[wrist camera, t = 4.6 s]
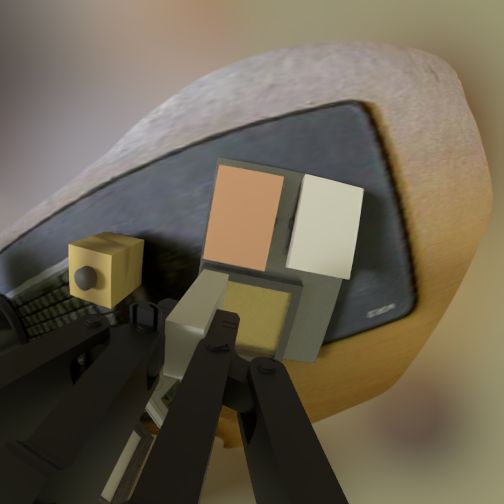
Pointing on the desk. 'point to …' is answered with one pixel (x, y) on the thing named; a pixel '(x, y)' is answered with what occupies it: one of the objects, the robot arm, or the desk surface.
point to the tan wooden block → (105, 268)
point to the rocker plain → (325, 227)
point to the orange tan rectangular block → (242, 217)
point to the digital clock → (162, 398)
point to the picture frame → (127, 467)
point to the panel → (277, 288)
